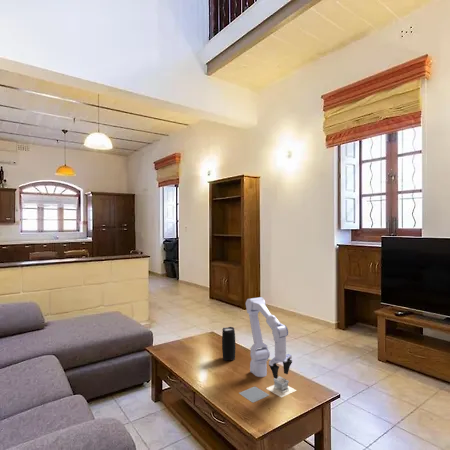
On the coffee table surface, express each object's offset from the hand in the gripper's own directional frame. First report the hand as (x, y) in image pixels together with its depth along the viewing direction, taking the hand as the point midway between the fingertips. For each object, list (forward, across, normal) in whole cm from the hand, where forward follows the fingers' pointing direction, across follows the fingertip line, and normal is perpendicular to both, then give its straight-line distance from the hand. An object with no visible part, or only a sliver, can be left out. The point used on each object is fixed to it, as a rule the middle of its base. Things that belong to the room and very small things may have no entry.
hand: (280, 375), depth 162 cm
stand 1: (+8, -14, +5) cm, 17 cm away
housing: (+7, 0, 0) cm, 7 cm away
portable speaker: (+9, +3, +49) cm, 50 cm away
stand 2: (+8, 0, 0) cm, 8 cm away
